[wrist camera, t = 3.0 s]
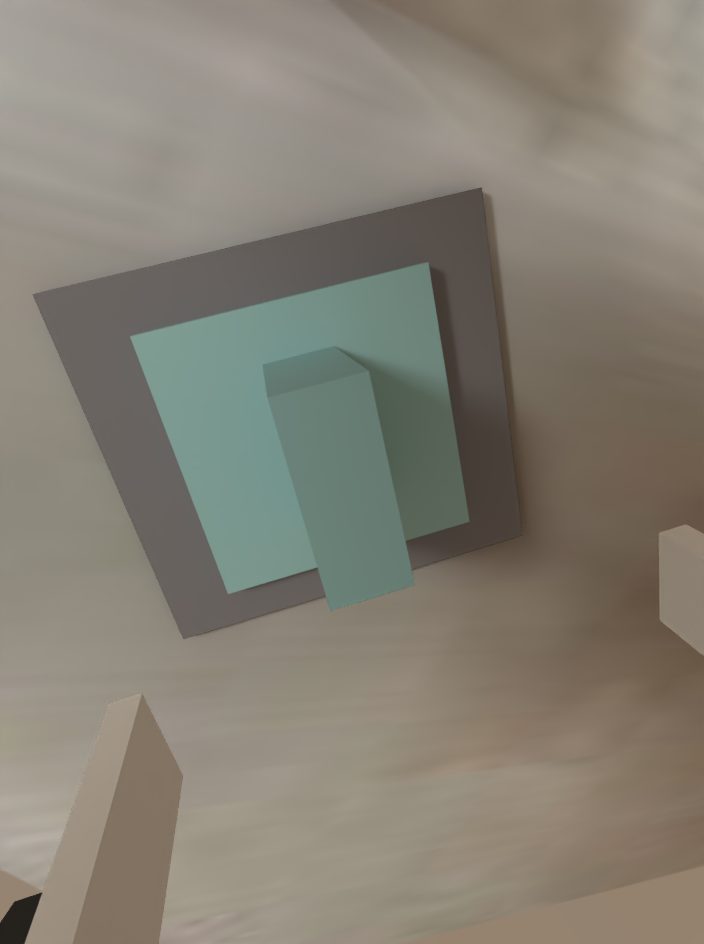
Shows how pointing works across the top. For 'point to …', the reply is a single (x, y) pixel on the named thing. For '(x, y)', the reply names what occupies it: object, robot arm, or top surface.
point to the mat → (261, 280)
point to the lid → (314, 432)
